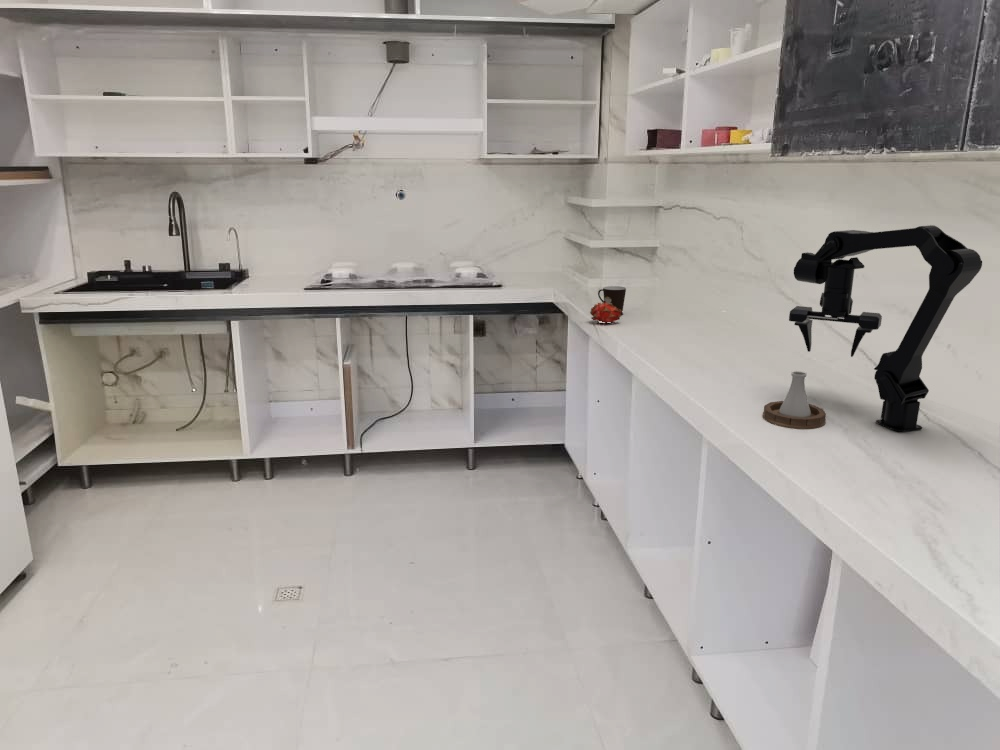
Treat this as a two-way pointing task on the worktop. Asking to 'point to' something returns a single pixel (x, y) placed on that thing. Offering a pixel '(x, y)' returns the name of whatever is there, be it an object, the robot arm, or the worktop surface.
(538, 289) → the worktop surface
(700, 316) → the worktop surface
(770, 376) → the worktop surface
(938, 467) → the worktop surface
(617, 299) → the coffee mug
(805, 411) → the flask
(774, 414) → the round wooden tray
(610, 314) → the dragon fruit
